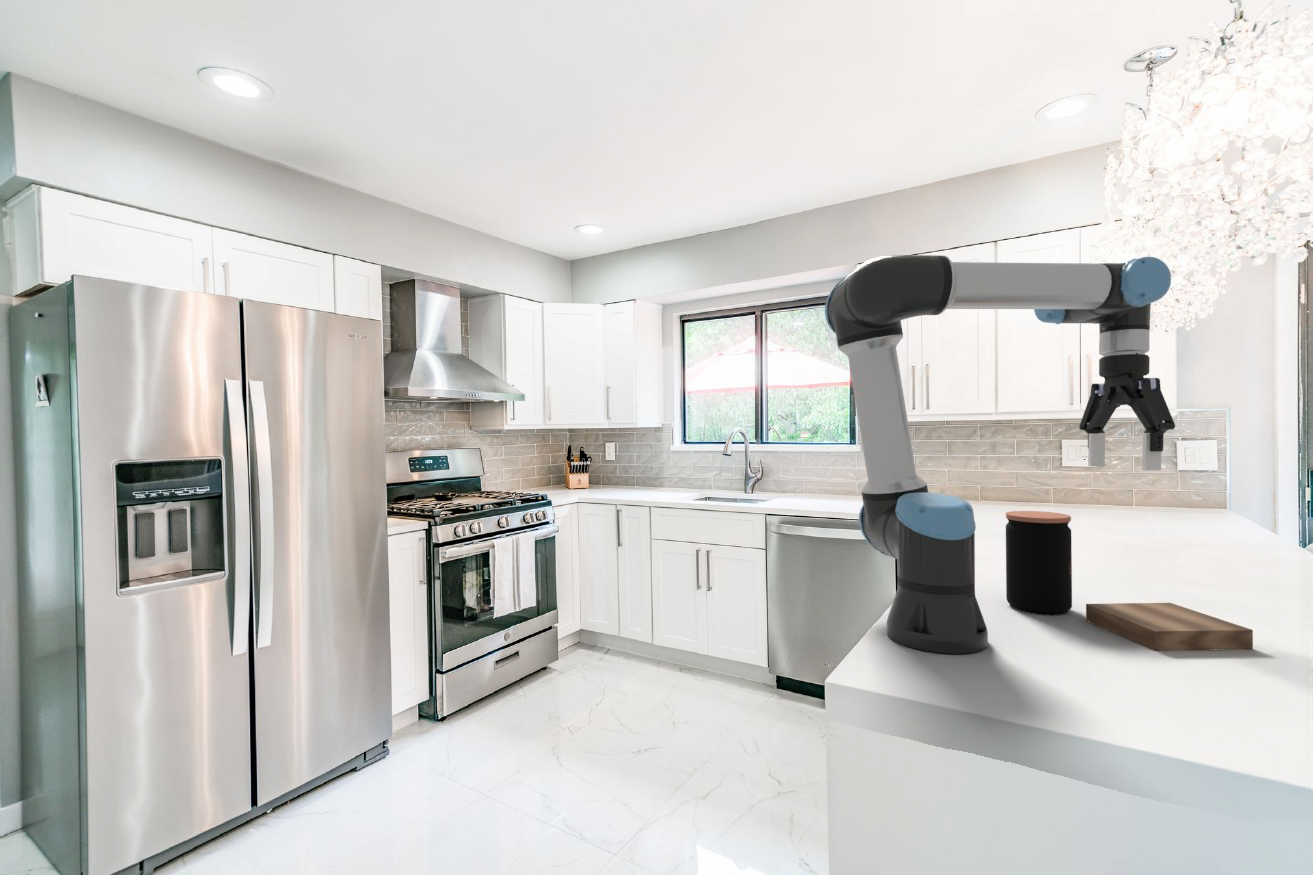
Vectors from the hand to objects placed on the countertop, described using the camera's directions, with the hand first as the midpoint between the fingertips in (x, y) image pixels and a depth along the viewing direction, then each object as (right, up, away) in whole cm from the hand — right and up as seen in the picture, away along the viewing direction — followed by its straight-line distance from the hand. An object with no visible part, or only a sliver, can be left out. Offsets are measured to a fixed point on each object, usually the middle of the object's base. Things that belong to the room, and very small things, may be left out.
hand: (1122, 468), depth 114 cm
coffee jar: (-14, -27, +2) cm, 31 cm away
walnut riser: (-3, -27, -13) cm, 30 cm away
